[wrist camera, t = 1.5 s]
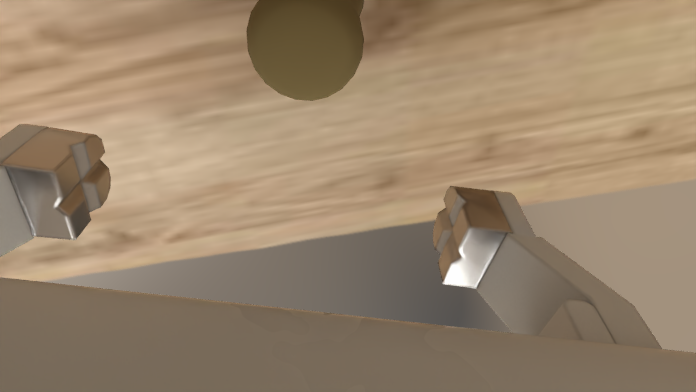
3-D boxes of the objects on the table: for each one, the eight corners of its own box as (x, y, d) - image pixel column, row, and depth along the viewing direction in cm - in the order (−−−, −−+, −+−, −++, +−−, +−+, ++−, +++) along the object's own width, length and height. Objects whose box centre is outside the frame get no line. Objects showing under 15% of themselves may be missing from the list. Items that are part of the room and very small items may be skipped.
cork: (375, -47, 25) (393, -3, 16) (351, 52, 28) (355, 132, 19) (274, -75, 24) (234, -45, 15) (262, 31, 27) (225, 105, 19)
